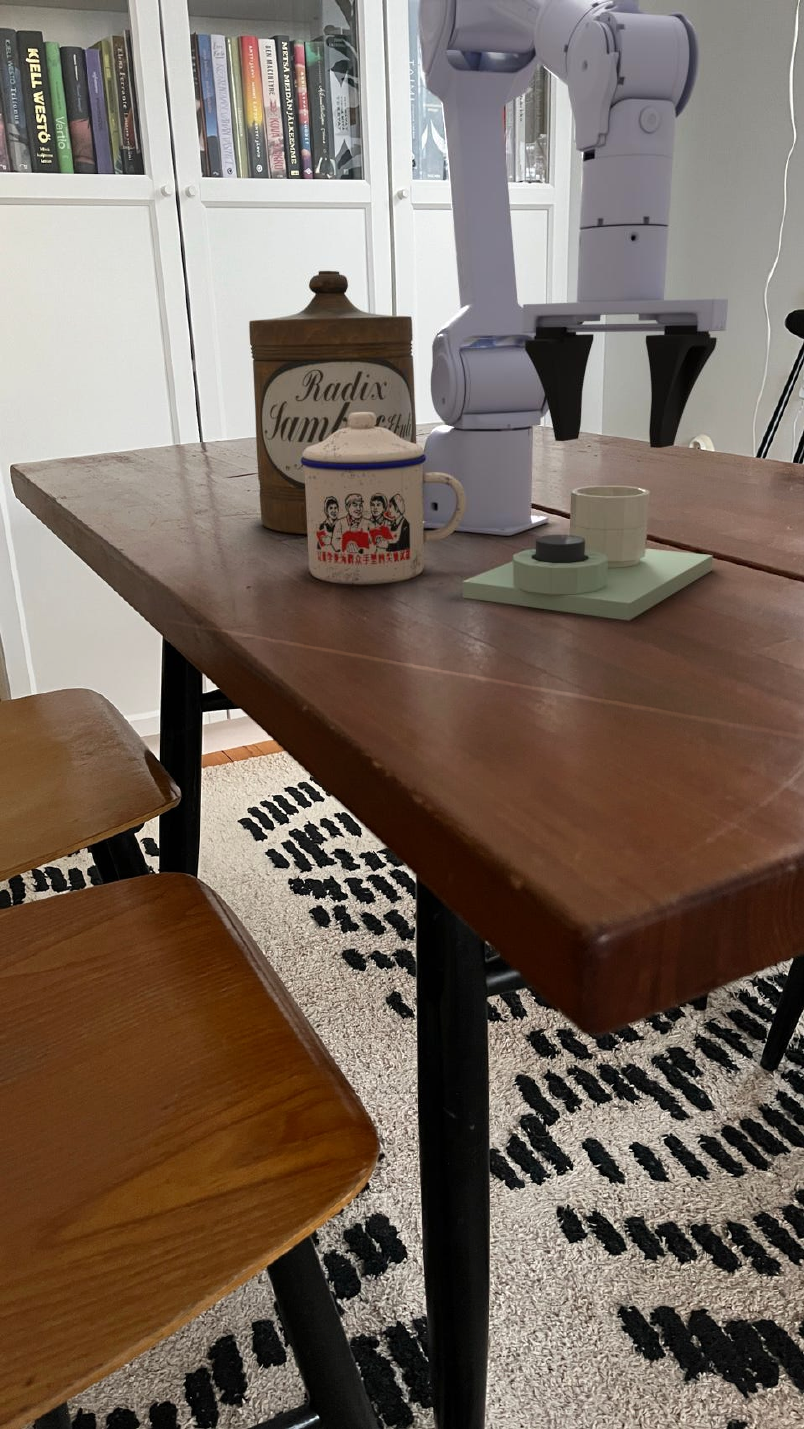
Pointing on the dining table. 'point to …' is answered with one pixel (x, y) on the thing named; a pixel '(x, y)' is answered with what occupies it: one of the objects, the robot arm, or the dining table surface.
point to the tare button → (560, 549)
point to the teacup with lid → (369, 505)
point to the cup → (611, 521)
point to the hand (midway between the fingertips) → (612, 443)
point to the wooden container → (323, 388)
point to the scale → (589, 582)
